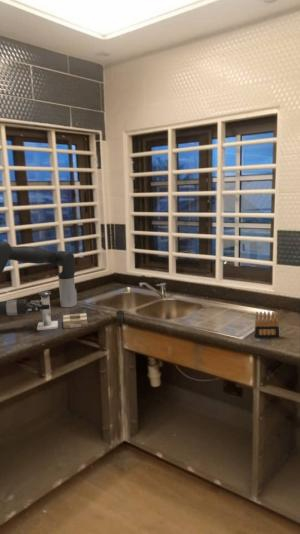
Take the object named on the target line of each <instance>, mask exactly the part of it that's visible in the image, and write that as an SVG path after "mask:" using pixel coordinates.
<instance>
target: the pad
mask: <svg viewBox="0 0 300 534" xmlns="http://www.w3.org/2000/svg"><path fill="white" fill-rule="evenodd" d="M51 323H52V324H51V325H49V326H44V324H43V321H39V322H38V323H37V327H36V330H37V331H45V330H57V329H58V328H59V321H58V320H51Z"/></svg>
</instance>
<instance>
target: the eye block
mask: <svg viewBox="0 0 300 534" xmlns="http://www.w3.org/2000/svg"><path fill="white" fill-rule="evenodd" d="M62 324H63V325H62V326H63V327H62V328H63V329H73V328H83V327H88V325H89V324H88V317H87V313H86V312H83V313H82V312H81V313H74V314H73V313H72V314H63V315H62Z"/></svg>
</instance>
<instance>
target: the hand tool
mask: <svg viewBox="0 0 300 534" xmlns="http://www.w3.org/2000/svg"><path fill="white" fill-rule="evenodd" d="M115 313H116V318H117V320H116V321H117V326H118V328H122V327H123V323H124V322H123V321H124V316H125V312H124V311H123V310H121V309H119V310H118V311H116V312H115Z"/></svg>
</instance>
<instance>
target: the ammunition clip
mask: <svg viewBox="0 0 300 534" xmlns="http://www.w3.org/2000/svg"><path fill="white" fill-rule="evenodd" d="M266 313H267V314H266ZM254 319H255V320H254V332H253V334H254V335H253V337H254V338H255V339H258V338H259V339H261V338H265V339H266V338H273V339H275V338H280V327H279V326H280V324H279V323H280V321H279V311H276V312H275V313H274V311H272V312H271V313H270V311H268V312H266V311H263V313H262V311H259V314H258V311H256V312H255V318H254Z"/></svg>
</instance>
